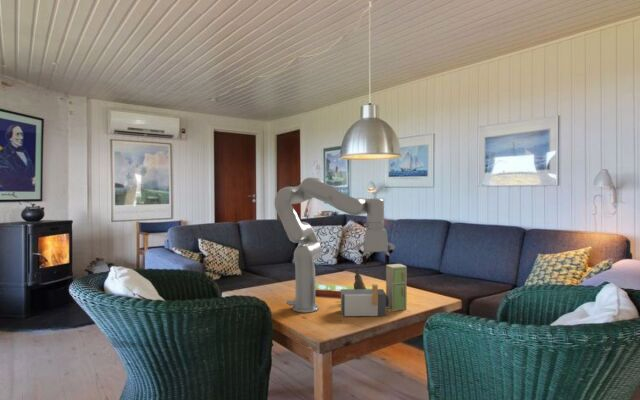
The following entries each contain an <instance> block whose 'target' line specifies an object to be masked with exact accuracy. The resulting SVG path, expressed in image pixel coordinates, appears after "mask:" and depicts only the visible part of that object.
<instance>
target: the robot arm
mask: <svg viewBox="0 0 640 400" xmlns="http://www.w3.org/2000/svg"><path fill="white" fill-rule="evenodd" d="M313 198H314V199H317V200H319V201H320V202H324V203H326V204H328V205H329V206H331V207H333V208H334V209H337V210H338V211H341V212H343V213H345V214H348V215H350V216H360V215H366V223H363V227H364V228H365V231H364V237H363V238H364V241H362V242H360V243H359V244H357V245H356V246H355V247H356V249H357V252H359V253H360V255H361V256H362V258H361V259H362V263H363V265H364V266H366V265H367V253H385V255H384V264H385V265H389V263H390V256H391V254H392V253H393V252H394V250H395V248H396V245H395V244H393V243H391V242H389V241H388V234H387V229H386V228H385V202H384V199H382V198H378V197H377V198H363V197H356V198H355V197H352V196H350V195H347V194H346V193H343V192H341V191H340V190H339V189H338V188H337V187H336V186H334V185H331V184H328V183H326V182H324V181H323V179H320V178H319V177H306V178H304V179H303V180H302V182H301V183H300V184H299V185H297V186H285V187H282V188H280V189H279V191H278V192H277V193H276V195H275V197H274V208H275V210H276V213H277V214H278V217H279V219H280V221H281V224H282V226H283V228H284V231H285V232H286V236H287V238H288V239H289V241H290V242H292V243H294V244H296V243H300V244H299V245H298V246H297V247H296V248H295V249H294V252H293V259H294V266H295V267H294V270H295V272H294V273H295V298H294V299H287V300H286V301H285V302H286V303H285V304H286V305H288V306H292V310H293V311H295V312H296V313H306V314H308V313H312V312H317V311H318V310H319V305H318V304H317V303H316V267H315V263H314V261H316V260H318V259H320V257H321V256H322V252H323V250H322V249H323V248H322V245H321V243H320V240H319V238H318V236H317V234H316V232H315V229H314V228H313V227H312V225H311V224H310V223H309V222H307V221H301V219H300V217H299V215H298V213H297V211H296V209H294V207H293V205H297V204H298V205H299V204H302V203H304V202H306V201H308V200H311V199H313ZM361 247H363V249H364V250H362V249H361ZM389 247H390V249H389ZM388 249H389V250H388Z"/></svg>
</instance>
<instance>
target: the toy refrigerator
mask: <svg viewBox="0 0 640 400" xmlns="http://www.w3.org/2000/svg"><path fill="white" fill-rule="evenodd" d="M385 265H386V264H385ZM407 271H408V270H407V265H404V264H402V263H393V264H392V263H391V264H388V265H386V266H385V280H386V281H385V293H386V296H388V301H389V304H388V307H386V309H388V310H389V311H392V312H394V311H395V312H396V311H404V310H407V305H408V304H407V300H408V299H407V297H408V296H407V293H408V292H407V289H408V288H407V285H408V284H407V281H408V280H407V278H408V277H407V276H408V273H407Z"/></svg>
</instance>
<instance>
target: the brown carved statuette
mask: <svg viewBox="0 0 640 400" xmlns="http://www.w3.org/2000/svg"><path fill="white" fill-rule="evenodd" d="M353 289H367V288H366V285H365V283H364V281H363V277H362V276H361V271H360V269H355V275H354V283H353Z"/></svg>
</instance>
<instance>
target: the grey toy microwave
mask: <svg viewBox="0 0 640 400" xmlns="http://www.w3.org/2000/svg"><path fill="white" fill-rule="evenodd" d="M345 295H372V288H366V289H354V288H353V289H352V288H351V289H350V288H349V289H347V288H345V289H343V288H341V289H340V311H341V316H342V317H346V316H345V315H344V300H345ZM388 304H389V301H388V296H386V291H385V290H384V288H379V289H378V316H377V317H386V316H387V307H388Z"/></svg>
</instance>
